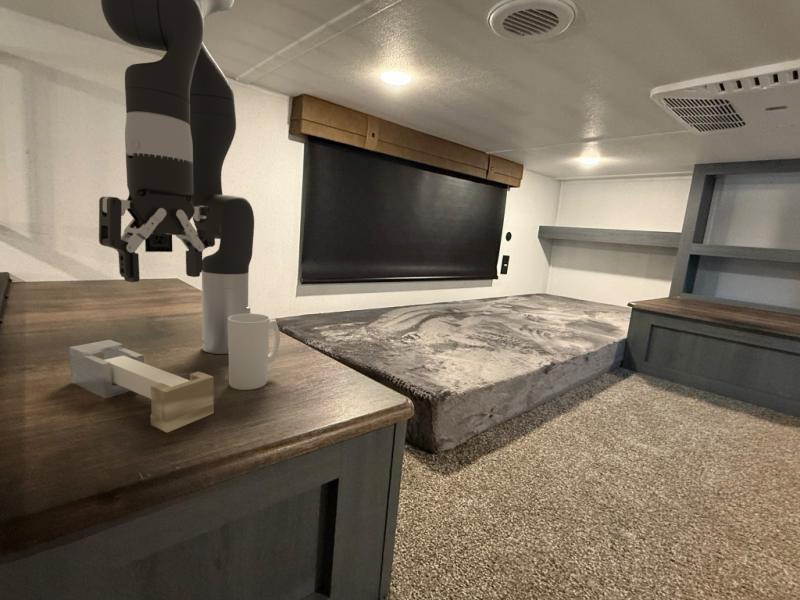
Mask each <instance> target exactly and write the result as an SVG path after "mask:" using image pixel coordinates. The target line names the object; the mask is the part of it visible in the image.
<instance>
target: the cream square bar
mask: <svg viewBox="0 0 800 600" xmlns="http://www.w3.org/2000/svg"><path fill="white" fill-rule="evenodd" d="M105 361H108V362H110V363H111V380H112V382H113V383H116V384H118V385H120V386H123V387H125V388H127V389H129V390H132V391H131V392H134V393H135V394H138V395H141V396H143V397H145V398H148V399H150V400H151V386H152V385H156V384H159V383H163V384H165V385H168V386H170V387H173V386H176V385H179V384H183V383H186V382H189V381H190V379H187V378H184V377H183V376H179V375H177V374H173V373H171V372H168V371H166V370H163V369H160V368H157V367H155V366H153V365H149V364H148V363H145V362H144V363H142V362H139V361H137V360H134V359H131V358H129V357H126V356H119V357H115V358H110V359H106V360H105Z"/></svg>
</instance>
